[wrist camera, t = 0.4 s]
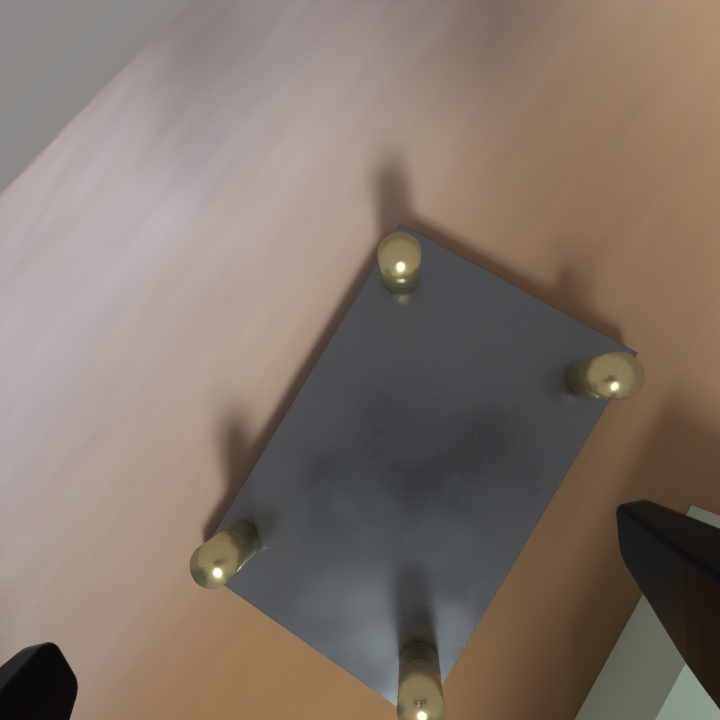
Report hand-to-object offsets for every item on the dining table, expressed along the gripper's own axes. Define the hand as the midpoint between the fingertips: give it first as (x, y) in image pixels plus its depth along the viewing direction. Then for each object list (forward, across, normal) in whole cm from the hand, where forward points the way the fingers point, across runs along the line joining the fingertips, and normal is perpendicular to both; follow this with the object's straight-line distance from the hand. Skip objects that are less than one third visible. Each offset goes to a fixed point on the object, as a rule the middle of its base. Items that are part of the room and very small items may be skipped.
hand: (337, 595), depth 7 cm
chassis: (+12, -2, +5) cm, 13 cm away
